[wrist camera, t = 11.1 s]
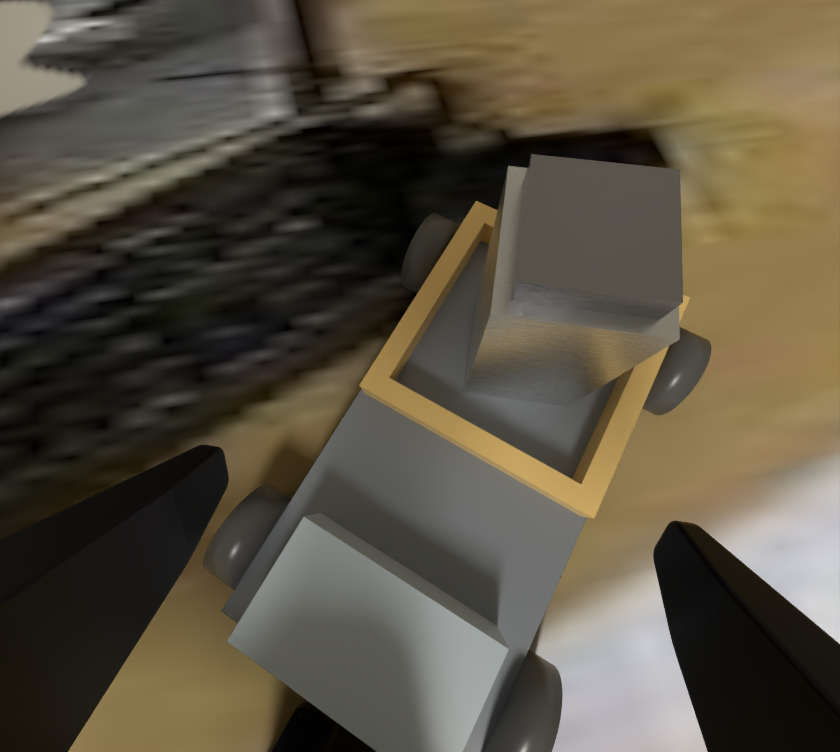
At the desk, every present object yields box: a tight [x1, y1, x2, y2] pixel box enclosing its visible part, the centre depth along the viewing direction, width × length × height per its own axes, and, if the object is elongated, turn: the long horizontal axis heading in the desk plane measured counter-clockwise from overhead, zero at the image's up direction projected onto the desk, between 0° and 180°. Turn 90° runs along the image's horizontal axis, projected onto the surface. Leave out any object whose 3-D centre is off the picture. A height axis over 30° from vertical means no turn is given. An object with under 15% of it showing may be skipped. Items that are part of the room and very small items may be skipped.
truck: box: [203, 201, 711, 752], centre depth 19 cm, size 23×15×6 cm, turn 150°
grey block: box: [464, 154, 683, 407], centre depth 15 cm, size 5×5×10 cm
